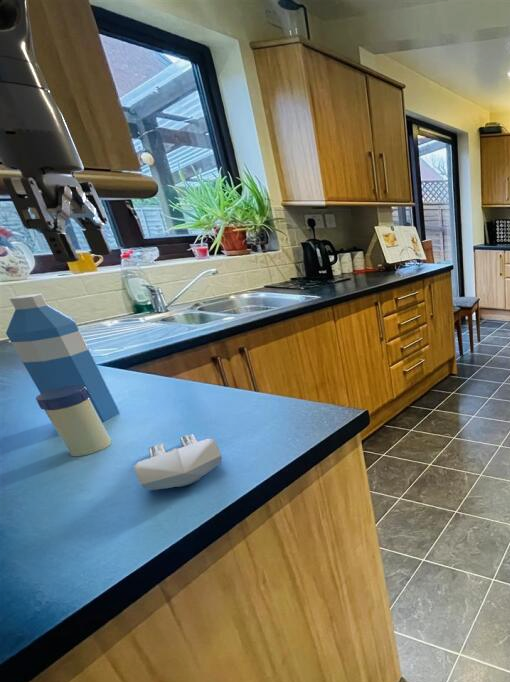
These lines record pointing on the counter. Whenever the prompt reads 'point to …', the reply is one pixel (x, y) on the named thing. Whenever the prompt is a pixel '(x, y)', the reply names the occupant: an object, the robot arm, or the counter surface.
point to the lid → (62, 397)
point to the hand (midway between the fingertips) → (86, 258)
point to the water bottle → (56, 352)
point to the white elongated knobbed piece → (178, 463)
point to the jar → (80, 428)
